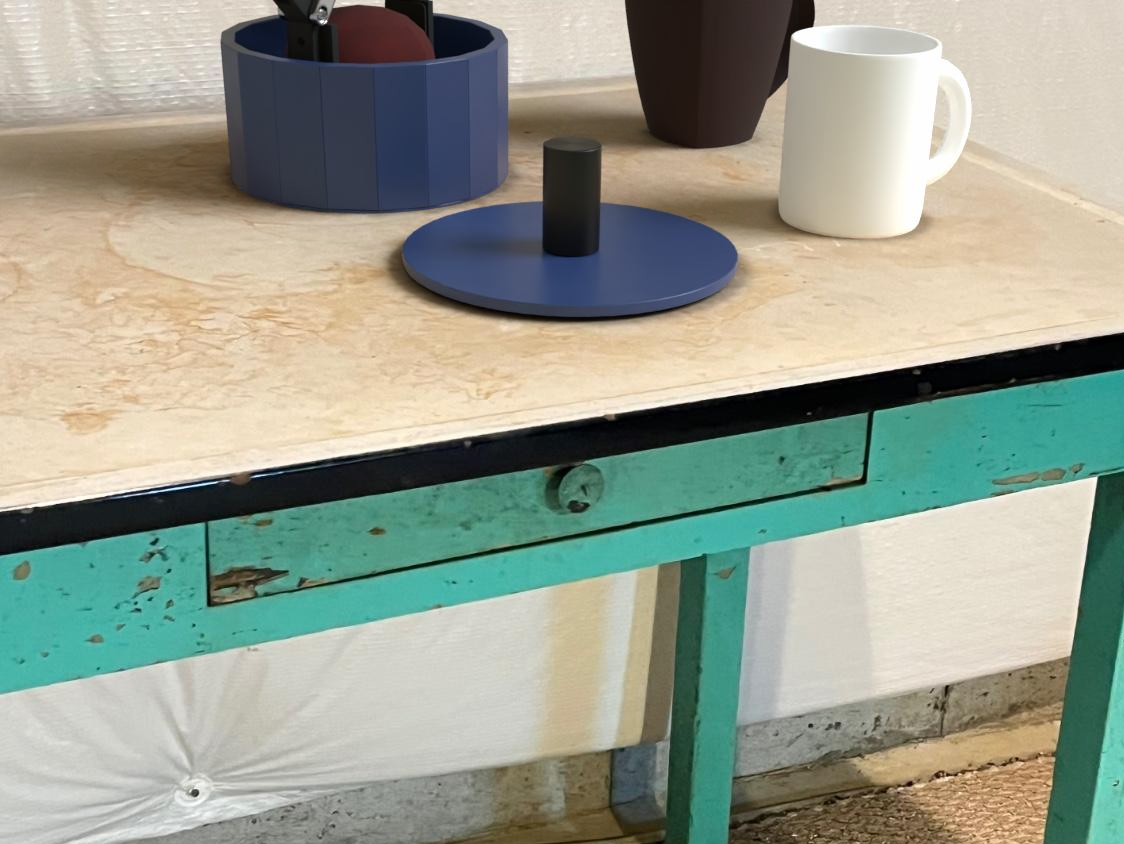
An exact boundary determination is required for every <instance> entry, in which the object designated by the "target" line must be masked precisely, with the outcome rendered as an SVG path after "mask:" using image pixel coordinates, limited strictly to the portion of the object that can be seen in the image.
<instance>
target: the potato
mask: <svg viewBox="0 0 1124 844" xmlns="http://www.w3.org/2000/svg"><path fill="white" fill-rule="evenodd" d="M327 23H332V24H337V30H338V49H339V63H357V64H378V63H398V62H419V61H426V60H433V59H435V54H434V49H433V46H432V44H431V43H430V41H429V39H428V37H427V35H426V34H425V32H424V30H422V29H421V28H420V27H419V26H418V25H417V24H415V23H414V22H413V21H412V20H411V19H410V18H409V17H407V16H406V15H403V14H401V13H398V12H395V11H393V10H390V9H387V8H385V6H379V5H367V4H351V5H346V6H337V7H333V9H332V12H331V15H330V17H329V20H328V22H327ZM285 55H286V58H287V59H289V57H288V40H287V46H286V53H285Z"/></svg>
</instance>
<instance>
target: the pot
mask: <svg viewBox="0 0 1124 844" xmlns="http://www.w3.org/2000/svg"><path fill="white" fill-rule="evenodd" d="M433 34H434V54H435V59H433V60H426V61H419V62H398V63H378V64H357V63H324V62H314V61H305V60H296V59H287V58H286V55H285V53H286V46H287V23H286V21H285V20H282V19H281V18H280V17H279V15H278V14H272V15H267V16H263V17H262V16H261V17H259V18H253V19H249V20H245V21H242V22H241V21H240V22H238V23H236V24H234V25H232V26H230V27H228V28H226V29H224V30H222V31H221V34H220V35H221V36H220V43H219V44H220V55H221V66H222V69H221V70H222V81H223V91H224V104H225V116H226V117H225V118H226V129H227V130H226V131H227V141H228V151H229V152H228V153H229V154H228V155H229V163H230V164H229V165H230V176H231V180H232V182H233V184H234V185H235V186H236V187H237V188H238V190H239V191H242V192H243V193H245V194H246V195H249V196H250V197H253V198H255V199H258V200H260V201H263V202H266V203H270V204H273V205H279V206H282V207H287V208H293V209H299V210H304V211H313V212H322V213H323V212H324V213H335V214H336V213H338V214H370V215H371V214H372V215H373V214H396V213H411V212H420V211H428V210H434V209H440V208H446V207H451V206H456V205H460V204H463V203H468V202H471V201H474V200H477V199H480V198H483V197H485V196H487V195H489V194H491V193H493V192H495V191H496V190H498V189H499V188H501V186H502V185H503V184H504V183H505V181H506V179H507V176H508V175H509V40H508V37H507V36H506V34H505V32H504V31H503V30H502V29H501V28H499V27H496V26H494V25H491V24H489V23H487V22H485V21H482V20H477V19H473V18H468V17H463V16H458V15H453V14H449V13H441V12H440V13H439V12H433Z"/></svg>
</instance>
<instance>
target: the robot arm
mask: <svg viewBox="0 0 1124 844" xmlns="http://www.w3.org/2000/svg"><path fill="white" fill-rule="evenodd" d="M336 1H337V0H272V2H273V3H274V4H275V5H276V6H277V15H279V17H280V18H281V19H282V20H285V21H286V23H287V40H288V57H289V59H296V60H305V61H314V62H324V63H339V49H338V30H337V24H332V23H327V22H328V20H329V17H330V15H331V12H332V9H333V8H334V7H335V3H336ZM384 7H385V8H387V9H390V10H393V11H395V12H398V13H401V14H403V15H406V16H407V17H409V18H410V19H411V20H412V21H413V22H414V23H415V24H417V25H418V26H419V27H420V28H421V29H422V30H424V32H425V34H426V35H427V37H428V39H429V41H430V43H431V44H432V46H433V49H434V34H433V13H434V0H384Z"/></svg>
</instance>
